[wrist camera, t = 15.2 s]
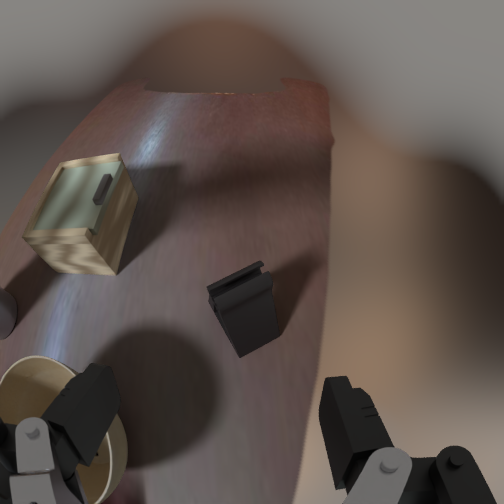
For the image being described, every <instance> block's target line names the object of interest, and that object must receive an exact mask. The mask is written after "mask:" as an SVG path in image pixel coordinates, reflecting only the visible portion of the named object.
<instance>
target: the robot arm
mask: <svg viewBox="0 0 504 504" xmlns="http://www.w3.org/2000/svg"><path fill="white" fill-rule="evenodd" d="M16 318H17V304H16V301H15V299H14V297H13V296H12V295H10V294H9V293H8V292H6V291H5V290H4V289H2V288H1V287H0V339H4V338H6V337H7V336H8V335H9V334H10V333H11V331H12V329H13V327H14V325H15V322H16ZM120 402H121V399H120V394H119V391H118V388H117V385H116V381H115V378H114V375H113V372H112V369H111V367H109V366H106V365H100V364H95V363H91V364H90V365H89V366H88V367H87V369H86V370H85V371H84V372H83V373H79V374H78V375H76V376H75V377H73V378H71V379H70V380H69V382H68V383H67V384H66V385H65V387H64V389H62V390H61V392H60V393H59V395H57V397H56V398H55V399H54V400H53V402H52V403H51V404H50V405H49V407H48V408H47V409H46V411H45V412H44V413H43V414H42V416H41V417H40V418H36V417H30V418H27V419H24V420H23V421H21V422H20V423H19V424H18V425H15V424H8V423H4V422H3V420H2V419H1V417H0V504H88V501H87V498H86V495H85V492H84V489H83V486H82V483H81V480H80V477H79V474H78V471H77V469H76V467H77V465H78V463H79V464H82V465H85V466H87V467H89V466H90V464H91V462H92V460H93V458H94V456H95V454H96V452H97V451H98V449H99V447H100V445H101V443H102V441H103V439H104V437H105V435H106V433H107V431H108V429H109V427H110V425H111V423H112V422H113V420H114V418H115V416H116V414H117V412H118V410H119V408H120ZM319 421H320V426H321V430H322V434H323V438H324V442H325V446H326V451H327V455H328V459H329V463H330V467H331V471H332V476H333V480H334V485H335V489H336V490H338V489H343V488H346V492H347V497H346V499H345V500H344V502H343V503H342V504H497V503H496V501H495V499H494V497H493V495H492V493H491V491H490V489H489V487H488V485H487V483H486V481H485V479H484V477H483V475H482V473H481V471H480V469H479V467H478V465H477V464H476V462H475V460H474V458H473V456H472V455H471V453H470V452H469V451H468V450H466V449H465V448H463V447H460V446H449V447H446V448H444V449H443V450H442V451H441V452H440V453H439V454H438V456H437V457H427V458H412V457H409V455H408V454H407V453H406V452H404V451H403V450H401V449H398V448H395V447H394V446H393V444H392V441H391V439H390V437H389V435H388V433H387V431H386V429H385V426H384V424H383V422H382V420H381V418H380V416H378V412H377V410H376V408H375V407H374V403H373V401H372V399H371V397H370V396H369V395H368V394H367V393H366V392H365V391H364V390H362V389H361V388H352V386H351V384H350V382H349V379H348V377H347V376H338V377H327V378H325V381H324V386H323V391H322V396H321V401H320V405H319Z"/></svg>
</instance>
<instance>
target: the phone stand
mask: <svg viewBox="0 0 504 504" xmlns="http://www.w3.org/2000/svg"><path fill="white" fill-rule="evenodd" d="M262 266H264V263H263V262H261V261H258V262H256V263H254V264H252V265H250V266H248V267H246V268H243V269H241V270H239V271H237V272H235V273H233V274H231V275H229V276H227V277H225V278H223V279H221V280H219V281H217V282H215V283H213V284H211V285H209V286H207V290H208V292H209V301H208V302H209V304H210V306H211V307H212V309H213V311H214V313H215V315H216V317H217V319H218V320H219V322H220V324H221V326H222V328H223V329H224V331H225V333H226V335H227V337H228V338H229V340H230V342H231V344H232V346H233V347H234V349H235V351H236V353H237V354H238V356H239V358H241V357H243V356H245V355H247V354H248V353H250V352H252V351H254V350H256V349H258V348H260V347H261V346H263V345H265V344H267V343H269V342H270V341H272V340H274V339H276V338H278V337H279V336H280V333H279V327H278V322H277V317H276V311H275V306H274V300H273V295H272V287H273V281H272V277H271V275H270V273H269V271H267V272H265V273H263V274H262V273H261V270H260V267H262Z"/></svg>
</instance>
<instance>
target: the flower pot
mask: <svg viewBox="0 0 504 504" xmlns="http://www.w3.org/2000/svg"><path fill="white" fill-rule="evenodd" d="M78 374H79V373H78V372H76V371H75V370H73V369H71V368H70V367H68V366H66V365H65V364H63V363H61V362H59V361H56V360H54V359H52V358H49V357H45V356H29V357H25V358H23V359H21V360H19V361H17V362H16V363H14V364H13V365H12V366H11V367H10V368H9V369H8V370H7V371H6V373H5V374H4V376H3V377H2V379H1V381H0V417H1V419H2V420H3V422H4V423H8V424H15V425H18V424H19V423H20V422H21V421H23V420H24V419H27V418H30V417H36V418H40V417H41V416H42V414H43V413H44V412H45V411H46V409H47V408H48V407H49V405H50V404H51V403H52V402H53V400H54V399H55V398H56V397H57V395H59V393H60V392H61V390H62V389H64V387H65V385H66V384H67V383H68V382H69V380H70V379H71V378H73V377H75V376H76V375H78ZM97 453H98V456H97V455H96V454H95V456H94V458H93V460H92V462H91V464H90V466H89V467H87V466H85V465H82V464H79V463H78V465H77V467H76V469H77V471H78V474H79V477H80V480H81V483H82V486H83V489H84V492H85V495H86V498H87V501H88V504H100V503H102V502H103V501H104V500H105V499H106V498H107V497H108V496H109V495H110V494H111V493H112V492H113V491H114V490H115V488H116V487H117V485H118V484H119V482H120V480H121V478H122V476H123V474H124V471H125V468H126V463H127V456H128V445H127V438H126V433H125V430H124V427H123V425H122V422H121V420H120V418H119V416H118V414H116V416H115V418H114V420H113V422H112V423H111V425H110V427H109V429H108V431H107V433H106V435H105V437H104V439H103V441H102V443H101V445H100V447H99V449H98V451H97Z"/></svg>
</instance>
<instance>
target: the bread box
mask: <svg viewBox="0 0 504 504" xmlns="http://www.w3.org/2000/svg"><path fill="white" fill-rule="evenodd" d="M137 201H138V196H137V193H136V191H135V189H134V186H133V184H132V182H131V179H130V177H129V174H128V172H127V170H126V167H125V165H124V162H123V160H122V157H121V155H120V153H116V154H109V155H102V156H96V157H90V158H84V159H78V160H72V161H67V162H62V163H60V164H59V166H58V167H57V169H56V171H55V172H54V174H53V176H52V178H51V179H50V181H49V183H48V185H47V187H46V188H45V190H44V192H43V194H42V196H41V198H40V200H39V202H38V204H37V206H36V208H35V210H34V212H33V214H32V216H31V218H30V220H29V222H28V225H27V227H26V229H25V231H24V234H23V236H22V238H23V239H24V240H25V241H26V242H27V243H28V244H29V245H30V246H31V247H32V248H33V250H34V251H35V252H36V253H37V254H38V255H39V256H40V257H41V258H42V259H43V260H44V261H45V262H46V263H47V264H48V265H50V266H51V267H52V268H53V269H54V270H55V271H56V272H58V273H76V274H96V275H117V271H118V267H119V263H120V259H121V255H122V252H123V248H124V244H125V241H126V237H127V234H128V230H129V227H130V223H131V220H132V217H133V214H134V210H135V207H136V204H137Z"/></svg>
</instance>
